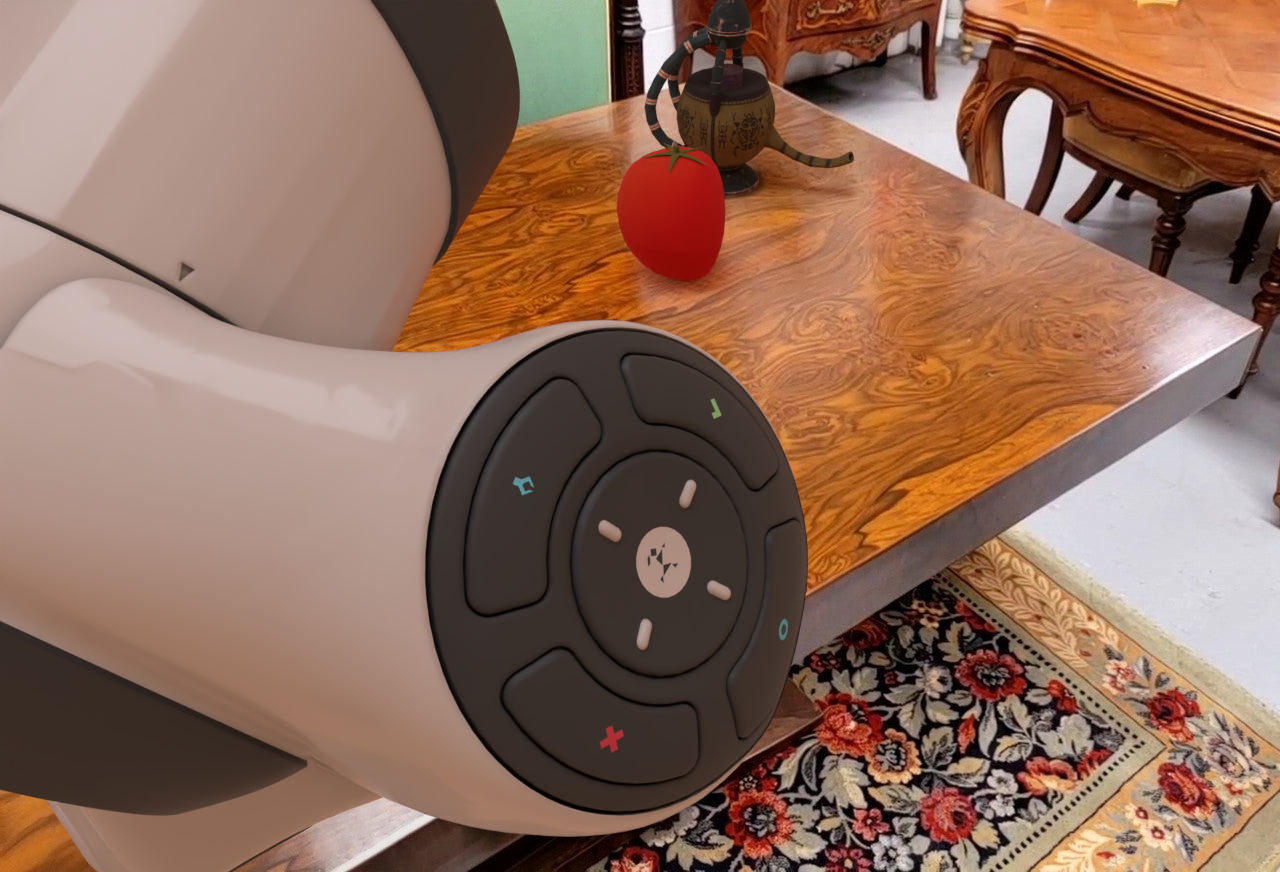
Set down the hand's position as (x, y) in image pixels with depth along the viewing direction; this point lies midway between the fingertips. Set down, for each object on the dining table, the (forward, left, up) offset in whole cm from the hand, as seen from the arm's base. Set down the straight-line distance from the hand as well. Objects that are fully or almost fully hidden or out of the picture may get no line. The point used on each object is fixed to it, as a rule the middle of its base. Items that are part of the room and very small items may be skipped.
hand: (317, 625), depth 39 cm
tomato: (+9, +67, -23) cm, 72 cm away
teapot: (+17, +89, -23) cm, 94 cm away
